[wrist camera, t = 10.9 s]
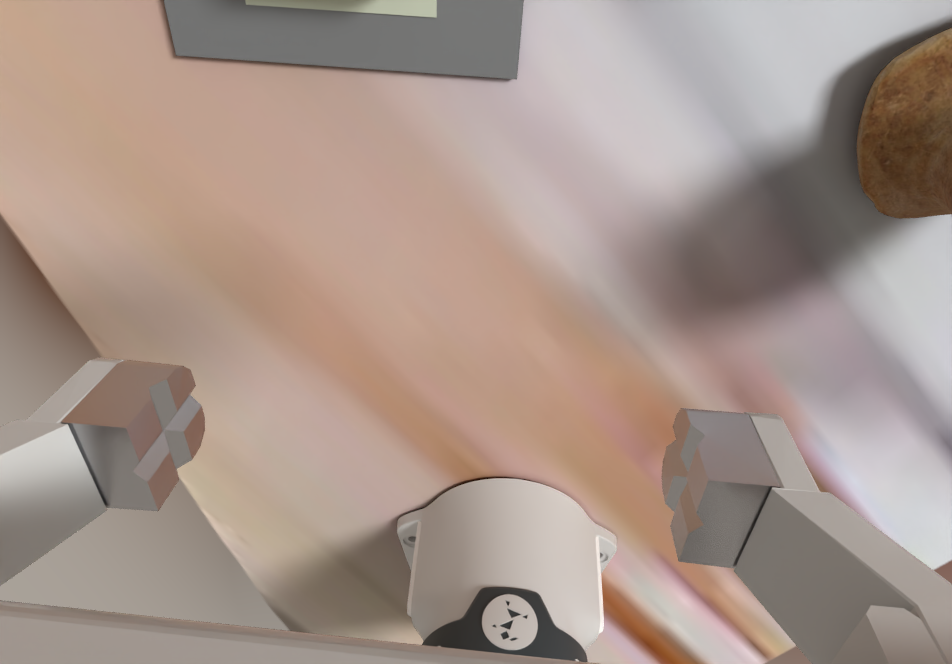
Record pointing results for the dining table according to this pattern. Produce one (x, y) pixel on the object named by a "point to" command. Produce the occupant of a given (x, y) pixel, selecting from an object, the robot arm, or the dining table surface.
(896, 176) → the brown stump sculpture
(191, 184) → the dining table surface
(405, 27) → the mat
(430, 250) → the dining table surface
